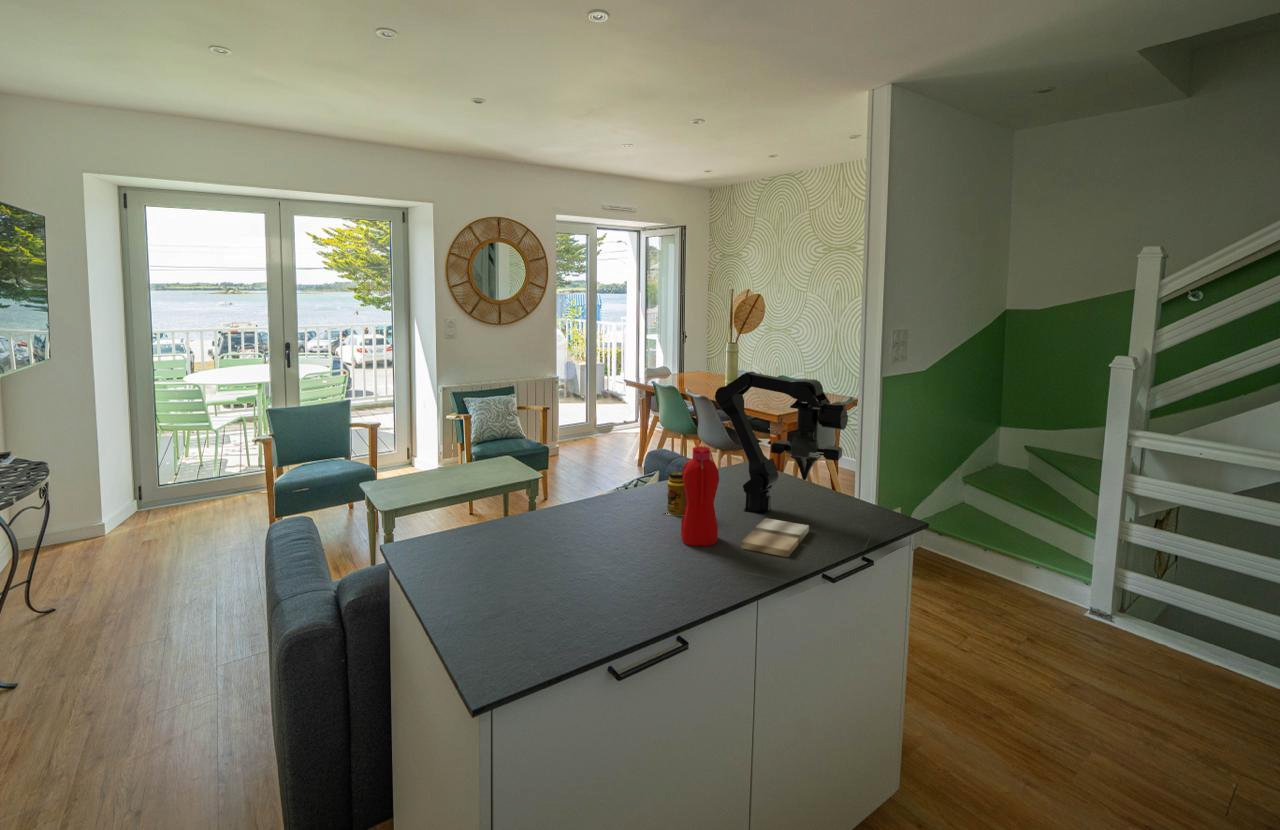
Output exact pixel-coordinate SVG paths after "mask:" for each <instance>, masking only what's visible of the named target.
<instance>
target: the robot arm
mask: <svg viewBox="0 0 1280 830" xmlns="http://www.w3.org/2000/svg"><path fill="white" fill-rule="evenodd" d="M751 388H757V389H761V390H766V391H770V392H776V393H780V394H781V393H782V394H784V395H787V396H789V397H791V398H792V399H794V400H795V401H794V403H792V404H791V405H790V409H797V416H796V417H797V418H796V419H797V420H796V429H795V435H794V437H793V439H792V441H789V440H782V439H777V440H775V441H774V442H772V443H771V445H770V453H771V454H779V455H782V454H783V453H784V452H785V451H786V452H790V454H791V455H790V458H791V459H794V460H795V462H796V464H797V466H798V469H799V472H800V475H801V477H802V480H803V481H807V479H808V477H809V474H810V472H811V469H812V467H813V465H814V464H815V462H817V461H818V460H819V459H820V458H821V457H822V456H823V458H825V460H828V461H834V462H835V461H836V462H837V461H839V460H841V458H842V457H843V449H842V447H841V446H835V445H827V446H826V447H823V448H822V447H819V441H818V440H819V439H818V435H819V425H820V426H821V428H826V429H833V430H834V429H835V430H841V431H844V430H845V429H846V428H847V425H848V421H849V416H848V410H847V409H846V407H847V406H846V404H845V403H838V404H837V403H831V402H830V400H829V398H828V397H827V395H826V394H825V392H824V388H823V384H822V383H821V382H820V381H819V379H805V378H804V379H789V378H783V377H779V376H778V377H777V376H772V375H767V374H762V373H758V372H754V371H747V372H743V373H742V374H741V375H740V376H738V377H737V378H736V379H734V380H732V381H731V382H729V383H728V384H726V385H725V386H721V387H720V386H719V388H717V389H716V391H715V394H714V399H715V401H716V403H717V405H718V407H719V409H721V411H722V412H723V413H724V414H725V415H726V416H728V418H729V420H730V422H731V424H732V426H733V429H734V432H735V433H736V435H737V438H738V440H739V442H740V445H741V447H742V449H743V452H744V454H745V457H746V459H747V461H748V474H749V475H748V476H749V479H748V481H746V482H745V483H744V484H743V485H742V488H743V492H744V493H745V508H743V512H746V513H751V514H757V515H766V514H767V513H768V512H769V511H770V510H771V509H772V508H771V506H772V505H771V504H772V496H771V495H770V492H771V491H770V490H771V489H772V487H773V485H775V484H776V483H777V482H778V479H779V471H780V469H779V468H778V467H777V466H776V462H775V460H774V458H773V457H772V458H768V457H767V456H765V454H764V453H763V450H762V448H761V445H760V444H759V441H758V439H757V437H756V434H755V433H754V430H753V428H752V426H751V423H750V421H749V419H748V416H747V414H746V412H745V399H744V398H745V397H744V396H743V395H744V394H746V393H747V392H748V391H749V390H750V389H751Z"/></svg>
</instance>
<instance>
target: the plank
mask: <svg viewBox="0 0 1280 830" xmlns="http://www.w3.org/2000/svg"><path fill="white" fill-rule="evenodd" d="M755 530H760V531H766V532H772V533H777V534H783V535H788V536H794V537H799V543H801V542H802V541H803V540H804V538H805V537H806V536H807V534H809V531H810V525H809V524H803V523H798V522H797V523H795V522H790V521H784V520H779V519H773V518H768V517H767V518H764V519H762V521H761V522H760V523H759V524H757V525H755Z"/></svg>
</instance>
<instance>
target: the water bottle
mask: <svg viewBox="0 0 1280 830" xmlns="http://www.w3.org/2000/svg"><path fill="white" fill-rule="evenodd" d="M710 453H711V449H710V447H708V446H694V447H692V458H691V459H689V460H687V461H686V462H685V463H684V466H683V468H682V471H683V474H682V478H683V484H684V490H685V497H686V505H685V509H684V514H683V516H682V518H681V523H680V526H681V527H680V536H681V541H682V542H683V543H684V544H685V545H688V546H690V547H711V546H714V545H715V544H716V543H717V541H718V538H719V537H718V535H719V533H718V532H719V529H718V521H717V515H716V510H715V500H716V498H715V497H716V494H717V490H718V487H719V483H720V475H719V470H718V467H717V464H716V463H715V462H714V461H713V460H712V459H711V458H710V457H711V456H710V455H711V454H710Z"/></svg>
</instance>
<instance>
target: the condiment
mask: <svg viewBox="0 0 1280 830" xmlns="http://www.w3.org/2000/svg"><path fill="white" fill-rule="evenodd" d="M682 474H683V470H674V471H670V472H669V473H668V481H667V502H666V504H667V509H666V510H668V514H667V513H666V514H665V515H666V516H667V515H669V516H676V517H683V514H684V509H685V505H686V497H685V490H684V484H683V478H682Z"/></svg>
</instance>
